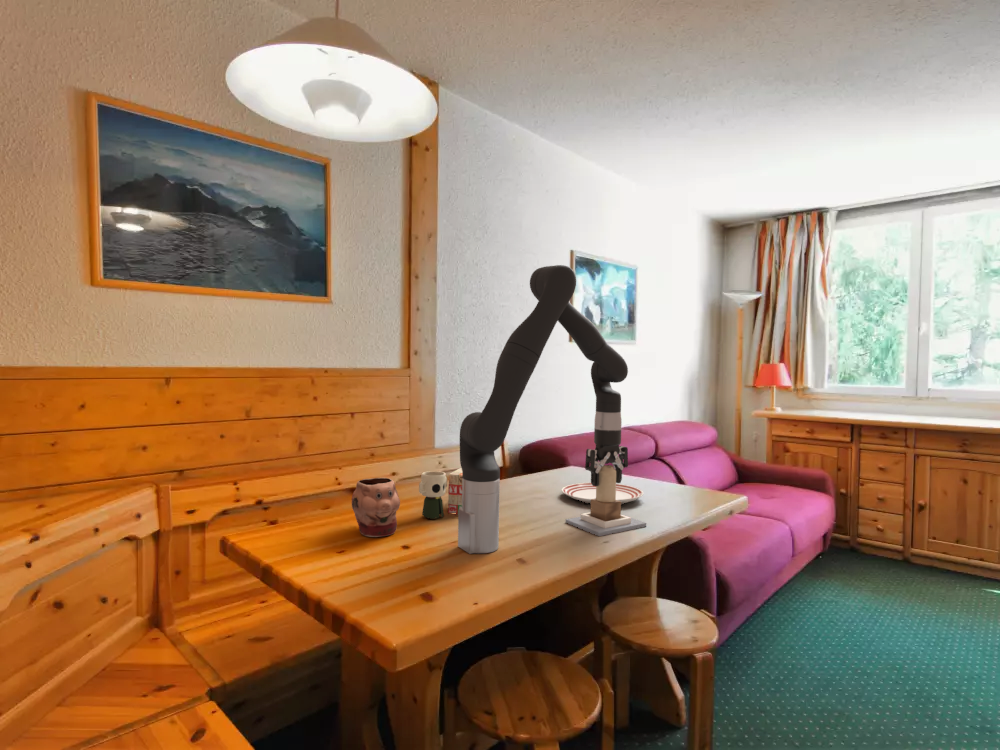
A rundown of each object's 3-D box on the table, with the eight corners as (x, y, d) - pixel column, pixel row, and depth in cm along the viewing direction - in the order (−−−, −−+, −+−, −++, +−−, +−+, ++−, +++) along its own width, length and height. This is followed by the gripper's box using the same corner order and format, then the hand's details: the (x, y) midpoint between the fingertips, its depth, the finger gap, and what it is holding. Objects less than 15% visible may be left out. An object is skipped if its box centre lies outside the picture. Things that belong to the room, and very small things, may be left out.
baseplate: (598, 536, 145) (599, 527, 145) (565, 522, 157) (565, 514, 156) (646, 526, 154) (646, 517, 154) (611, 514, 166) (611, 506, 166)
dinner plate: (546, 500, 182) (547, 490, 182) (582, 486, 205) (583, 477, 205) (624, 515, 167) (625, 504, 166) (654, 497, 189) (655, 488, 189)
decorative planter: (339, 525, 150) (340, 475, 150) (381, 518, 158) (381, 470, 157) (367, 545, 134) (368, 489, 134) (412, 537, 141) (413, 484, 141)
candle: (603, 503, 152) (603, 467, 151) (592, 498, 157) (592, 464, 156) (619, 501, 154) (620, 466, 154) (608, 497, 159) (608, 463, 159)
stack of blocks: (471, 497, 184) (471, 461, 184) (488, 499, 183) (489, 462, 182) (447, 514, 164) (448, 473, 163) (467, 516, 162) (468, 474, 162)
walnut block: (604, 525, 151) (605, 504, 151) (590, 519, 156) (590, 499, 156) (620, 522, 154) (621, 501, 154) (605, 517, 159) (606, 496, 159)
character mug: (427, 524, 153) (428, 478, 153) (410, 518, 157) (411, 474, 157) (454, 516, 161) (455, 472, 161) (438, 511, 166) (438, 469, 166)
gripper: (598, 430, 148) (596, 489, 148) (635, 427, 155) (634, 484, 156) (580, 427, 154) (578, 484, 155) (616, 425, 162) (615, 479, 162)
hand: (606, 484), depth 155 cm, fingers open, 8 cm apart
